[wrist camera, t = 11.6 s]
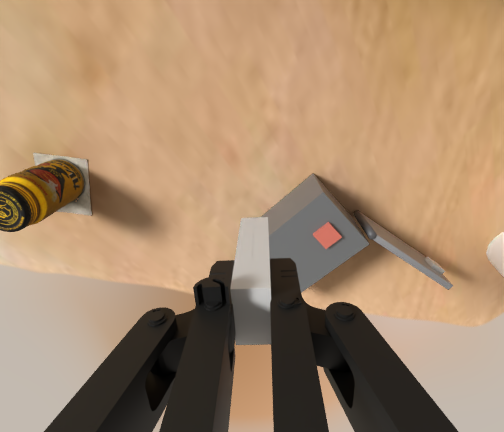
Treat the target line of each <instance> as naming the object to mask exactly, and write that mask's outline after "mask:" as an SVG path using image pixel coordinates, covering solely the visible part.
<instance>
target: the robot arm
mask: <svg viewBox="0 0 504 432" xmlns="http://www.w3.org/2000/svg"><path fill="white" fill-rule="evenodd" d="M193 289H194V295H195V302H196V307H195V309H193V310H191V311H189V312H186V313H183V314H179V315H175V313H174V312H173V311H172V310H171V309H168V308H156V309H152V310H150V311H148V312H146V313H145V314H144V315H143V316H142V317H141V318H140V319H139V320H138V321H137V323H136V324H135V325H134V326H133V327H132V329H131V330H130V331H129V332H128V333H127V334H126V336H125V337H124V338H123V339H122V340H121V342H120V343H119V344H118V345H117V346H116V347H115V349H114V350H113V351H112V352H111V353H110V354H109V356H108V357H107V358H106V359H105V360H104V362H103V363H102V364H101V365H100V366H99V368H98V369H97V370H96V371H95V372H94V373H93V374H92V376H91V377H90V378H89V379H88V380H87V382H86V383H85V384H84V385H83V386H82V387H81V389H80V390H79V391H78V392H77V393H76V395H75V396H74V397H73V398H72V399H71V400H70V402H69V403H68V404H67V405H66V406H65V408H64V409H63V410H62V411H61V412H60V413H59V415H58V416H57V417H56V418H55V419H54V420H53V422H52V423H51V424H50V425H49V426H48V428H47V429H46V430H45V431H44V432H152V431H153V429H154V428H155V426H156V424H157V422H158V420H159V418H160V417H161V415H162V413H163V411H164V409H165V407H166V406H167V407H166V411H165V414H164V417H163V421H162V424H161V428H160V431H159V432H228V427H229V416H230V406H231V405H230V404H231V395H232V384H233V374H234V364H235V349H234V344H235V342H236V345H257V344H258V345H259V344H261V345H262V344H271V351H272V386H273V420H274V432H329V430H328V424H327V419H326V413H325V408H324V403H323V397H322V392H321V386H320V381H319V376H318V370H317V366H321V367H323V368H324V372H325V374H326V376H327V378H328V380H329V381H330V384H331V386H332V388H333V389H334V391H335V394H336V396H337V398H338V400H339V402H340V404H341V405H342V407H343V409H344V411H345V414H346V416H347V417H348V420H349V422H350V423H351V425H352V427H353V429H354V431H355V432H458V431H457V429H456V428H455V427H454V426H453V424H452V423H451V422H450V421H449V420H448V418H447V417H446V416H445V414H444V413H443V412H442V411H441V409H440V408H439V407H438V406H437V404H436V403H435V402H434V401H433V399H432V398H431V397H430V396H429V394H428V393H427V392H426V391H425V390H424V388H423V387H422V386H421V384H420V383H419V382H418V381H417V380H416V378H415V377H414V376H413V374H412V373H411V372H410V371H409V369H408V368H407V367H406V366H405V364H404V363H403V362H402V361H401V359H400V358H399V357H398V356H397V354H396V353H395V352H394V351H393V350H392V348H391V347H390V346H389V344H388V343H387V342H386V341H385V339H384V338H383V337H382V336H381V335H380V333H379V332H378V331H377V329H376V328H375V327H374V326H373V325H372V323H371V322H370V321H369V320H368V318H367V317H366V316H365V314H364V313H363V312H362V311H361V310H360V309H359V308H358V307H357V306H355V305H352V304H350V303H345V302H336V303H333V304H330V305H329V306H328V307H327V308H326V310H322V309H318V308H314V307H312V306H310V305H308V304H307V303H306V302H305V301H304V299H303V298H302V295H301V290H300V284H299V279H298V273H297V267H296V263H295V262H294V261H293V260H292V259H291V258H271V259H270V256H269V231H268V217H255V218H241V223H240V229H239V236H238V242H237V249H236V255H235V260H232V261H217V262H216V263H215V264H214V265H213V266H212V267H211V270H210V275H209V278H205V279H202V280H200V281H199V282H197V283H196V284H195V286H194V287H193Z"/></svg>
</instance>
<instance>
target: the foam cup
mask: <svg viewBox="0 0 504 432" xmlns="http://www.w3.org/2000/svg"><path fill="white" fill-rule="evenodd" d="M486 254H487V257H488V260H489V261H490V262H491V264H492V265H493V266H494V267H495V268H496V269H497V271H498V272H499V273H500V274H501V275H502V276H503V277H504V232H502V233H501V234H499V235H497V236H496V237H495V238H494V239H493V240H492V241H491V242H490V244H489V245H488V249H487V252H486Z"/></svg>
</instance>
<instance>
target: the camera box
mask: <svg viewBox="0 0 504 432" xmlns="http://www.w3.org/2000/svg"><path fill="white" fill-rule="evenodd" d="M261 217H268V231H269V256H270V259H271V258H291V259H292V260H293V261H294V262H295V263H296V267H297V273H298V279H299V284H300V290H301V292H303V291H304V290H306V289H307V288H308V287H310V286H311V285H313V284H314V283H315V282H317V281H318V280H320V279H321V278H323V277H324V276H325V275H327V274H328V273H330V272H331V271H332V270H334V269H335V268H337V267H338V266H339V265H341V264H342V263H344V262H345V261H346V260H348V259H349V258H351V257H352V256H353V255H355V254H356V253H358V252H359V251H361V250H362V249H363V248H365V247H366V246H368V245H369V242H368V241H367V239H366V238H365V236H364V235H363V233H362V232H361V230H360V228H359V227H358V225H357V224H356V222H355V221H354V219H353V218H352V217H351V215H350V214H349V213H348V212H347V211H346V210H345V209H344V207H343V206H342V205H341V204H340V203H339V202H338V201H337V200H336V198H335V197H334V196H333V195H332V194H331V193H330V192H329V191H328V189H327V188H326V187H325V186H324V185H323V184H322V183H321V182H320V180H319V179H318V178H317V177H316V176H315V175H314V174H311V175H310V176H309V177H308V178H307V179H305V180H304V181H303V182H302V183H301V184H299V185H298V186H297V187H296V188H295V189H293V190H292V191H291V192H290V193H289V194H288V195H286V196H285V197H284V198H283V199H282V200H280V201H279V202H278V203H277V204H276V205H274V206H273V207H272V208H271V209H270V210H268V211H267V212H266V213H265V214H264V215H262V216H261Z"/></svg>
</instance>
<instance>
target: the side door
mask: <svg viewBox="0 0 504 432" xmlns="http://www.w3.org/2000/svg"><path fill="white" fill-rule="evenodd" d="M354 216H355V218H356V219H357V221H358V222H359V224H360V225H361V227H362V228H363V230H364V231H365V233H366V234H367V236H368V237H369V238H370V239H371V240H374V241H375V242H377V243H378V244H380V245H381V246H383V247H384V248H386V249H387V250H389V251H390V252H392V253H393V254H395V255H397V256H398V257H400V258H401V259H403V260H404V261H406V262H407V263H409V264H410V265H412V266H413V267H415V268H416V269H418V270H419V271H421V272H422V273H424V274H425V275H427V276H428V277H430V278H431V279H433V280H434V281H436V282H437V283H439V284H440V285H442V286H443V287H445V288H446V289H448V290H449V289H450V288H451V287H452V286H453V285H452V284H451V283H450V282H449V281H448V280H447V278H446V277H445V276H444V275H443V273H444V272H445V270H444V269H443V268H442V267H441V266H440V265H439V264H438V263H436V262H435V261H433V260H432V259H431V258H429V257H428V256H427V257H425V256H424V255H422V254H421V253H419V252H418V251H417V250H415V249H414V248H412V247H411V246H409V245H408V244H406V243H405V242H403V241H402V240H400V239H399V238H397V237H396V236H394V235H393V234H391V233H390V232H389V231H387V230H386V229H384V228H383V227H381V226H380V225H378V224H377V223H375V222H374V221H372V220H371V219H369V218H368V217H366V216H365V215H363V214H362V213H361V212H360V211H358V210H357V211H355V212H354Z"/></svg>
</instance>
